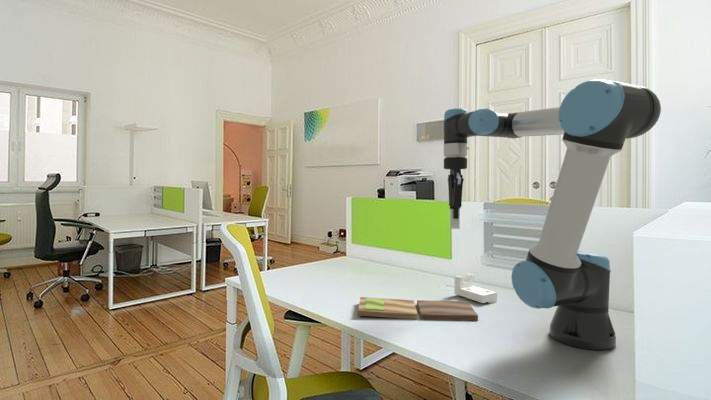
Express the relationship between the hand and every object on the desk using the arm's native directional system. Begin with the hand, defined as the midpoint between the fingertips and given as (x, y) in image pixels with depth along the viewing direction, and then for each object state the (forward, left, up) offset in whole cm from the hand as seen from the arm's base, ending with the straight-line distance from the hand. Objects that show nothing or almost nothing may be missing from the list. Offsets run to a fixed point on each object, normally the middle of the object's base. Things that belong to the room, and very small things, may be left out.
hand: (454, 228), depth 129 cm
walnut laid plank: (-7, +4, -26) cm, 27 cm away
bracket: (+9, -9, -27) cm, 29 cm away
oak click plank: (-7, +23, -26) cm, 35 cm away
